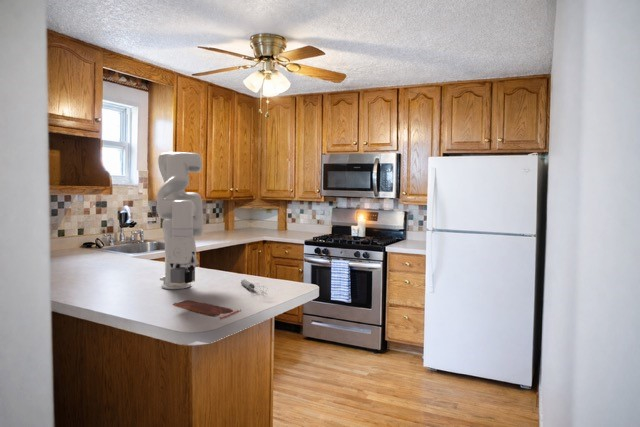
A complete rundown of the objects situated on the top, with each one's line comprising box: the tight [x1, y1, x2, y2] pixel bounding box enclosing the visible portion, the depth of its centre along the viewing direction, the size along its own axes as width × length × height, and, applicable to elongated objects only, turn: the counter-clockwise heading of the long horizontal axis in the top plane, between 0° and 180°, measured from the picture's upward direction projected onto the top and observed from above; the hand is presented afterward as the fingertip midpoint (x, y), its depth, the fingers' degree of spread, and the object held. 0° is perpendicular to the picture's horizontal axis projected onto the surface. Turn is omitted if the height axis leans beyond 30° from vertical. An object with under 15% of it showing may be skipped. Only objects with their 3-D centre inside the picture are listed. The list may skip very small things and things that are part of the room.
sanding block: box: [170, 266, 196, 285], centre depth 166 cm, size 4×8×6 cm, turn 155°
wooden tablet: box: [172, 299, 234, 317], centre depth 165 cm, size 27×10×2 cm, turn 53°
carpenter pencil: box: [219, 309, 242, 320], centre depth 156 cm, size 1×12×1 cm, turn 154°
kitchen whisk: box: [240, 278, 269, 299], centre depth 190 cm, size 6×34×6 cm, turn 24°
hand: (183, 281), depth 166 cm, fingers closed on sanding block, 4 cm apart
